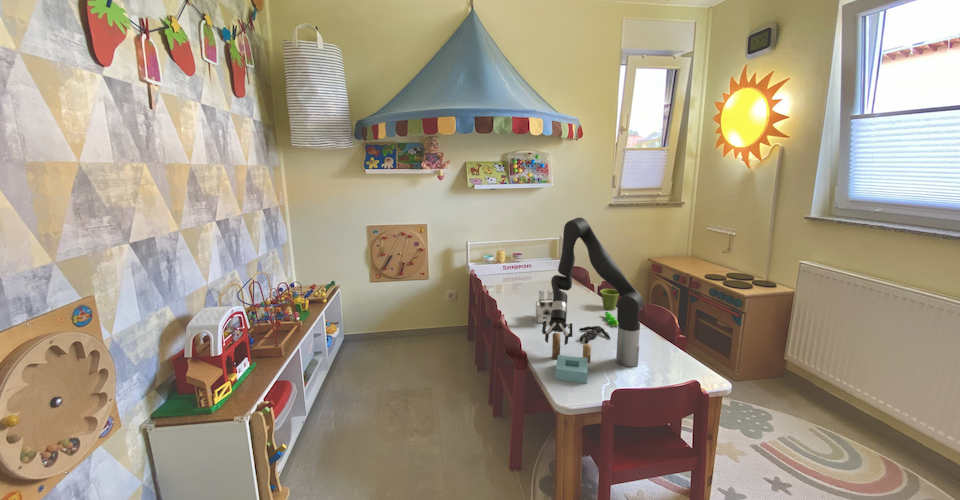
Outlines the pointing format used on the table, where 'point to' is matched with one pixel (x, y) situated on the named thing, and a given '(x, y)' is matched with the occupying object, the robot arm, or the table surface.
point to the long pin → (556, 346)
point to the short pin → (587, 352)
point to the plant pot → (609, 298)
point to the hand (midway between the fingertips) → (556, 343)
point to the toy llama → (544, 307)
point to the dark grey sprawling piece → (592, 333)
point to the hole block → (571, 369)
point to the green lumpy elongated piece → (611, 319)
